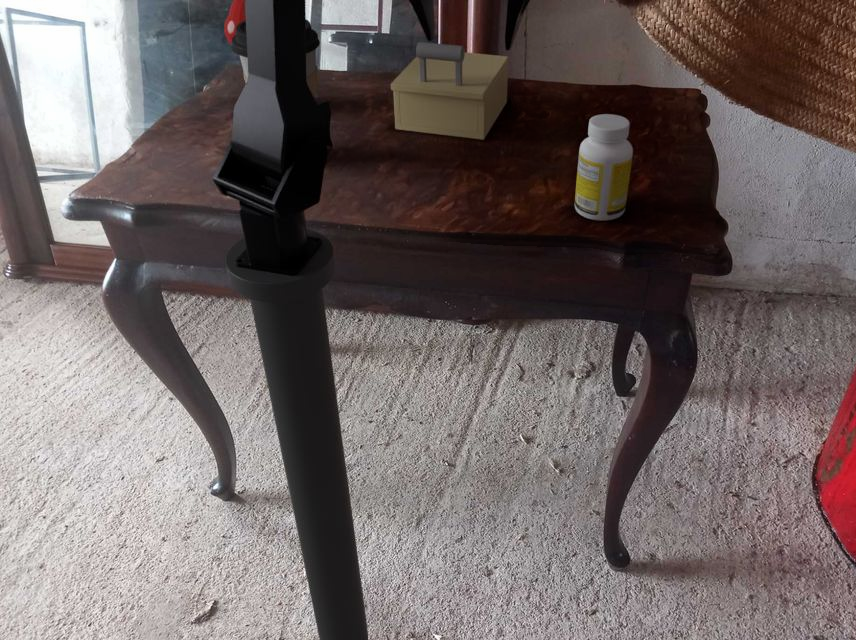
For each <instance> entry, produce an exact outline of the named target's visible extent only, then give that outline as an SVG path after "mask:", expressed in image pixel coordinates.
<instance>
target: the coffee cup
mask: <svg viewBox="0 0 856 640" xmlns="http://www.w3.org/2000/svg"><path fill="white" fill-rule="evenodd" d="M320 44H321V41H320V39H319V34H318V32H317V31H316V30H314V29H313V28H312V25H311V22H310V21H309V20H308V19H306V78H307V83H308V86H309V88H310V90H311V92H312V94H313V96H314V97H315V98H319V83H318V77H319V75H318V73H319V72H318V66H317V51H316V50H317V49H318V47H320ZM230 47H231V51H232V52H233V53H235V54H236V55H238V56H239V59H240V62H241V66H242V70H243V73H242V74H243V79H244V82H245V84H246V82H247V80H248V57H247V37H246V20H245V21H242V22H241V23H239V24H238V25H237V26H236V34H235V35H234V36H233V38H232V44H231V46H230Z"/></svg>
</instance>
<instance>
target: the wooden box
mask: <svg viewBox="0 0 856 640" xmlns="http://www.w3.org/2000/svg"><path fill="white" fill-rule="evenodd" d="M508 79H509V62H508V63H507V65H506V66H505V68H504V69H503V71H502V72H501V74H500V75H499V77H498V78H497V80H496V81H495V83H494V84H493V86H492V87H491V89H490V90H489V92H488V93H487V95H486V96H485V98H484V99H483V100H476V99H467V98H458V97H449V96H440V95H431V94H421V93H412V92H403V91H394V90H392V92H393V109H394V129H395V130H399V131H407V132H416V133H424V134H433V135H440V136H449V137H457V138H465V139H466V138H467V139H475V140H481V141H482V140H483V141H484V140H485V138H486V137H487V135H488V134H489V132H490V130H491V129H492V127H493V125H494V124H495V122H496V121H497V119H498V117H499V116H500V114H501V113H502V111H503V109H504V107H505V106H506V104H507V102H508V83H509V82H508Z"/></svg>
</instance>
